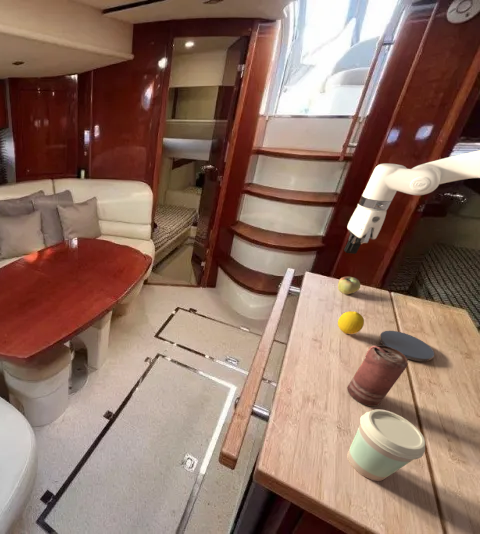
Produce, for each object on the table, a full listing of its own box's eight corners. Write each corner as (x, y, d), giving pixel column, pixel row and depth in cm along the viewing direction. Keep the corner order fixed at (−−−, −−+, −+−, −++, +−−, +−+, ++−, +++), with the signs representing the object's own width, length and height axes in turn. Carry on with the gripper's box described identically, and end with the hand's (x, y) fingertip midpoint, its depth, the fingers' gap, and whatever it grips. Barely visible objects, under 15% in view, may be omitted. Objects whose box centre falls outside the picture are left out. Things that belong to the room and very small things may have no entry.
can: (348, 380, 77) (374, 339, 70) (381, 397, 72) (412, 354, 65) (341, 394, 73) (367, 352, 66) (375, 412, 69) (407, 369, 62)
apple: (359, 291, 110) (366, 277, 107) (352, 299, 106) (359, 285, 103) (339, 284, 114) (345, 270, 111) (331, 292, 110) (338, 278, 107)
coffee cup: (394, 462, 60) (428, 425, 54) (394, 500, 54) (432, 464, 48) (340, 434, 65) (366, 398, 59) (335, 466, 59) (362, 430, 53)
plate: (415, 337, 89) (417, 334, 88) (442, 366, 80) (445, 362, 79) (370, 331, 92) (372, 327, 91) (391, 358, 82) (394, 354, 82)
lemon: (332, 324, 95) (343, 304, 91) (355, 330, 92) (367, 309, 88) (334, 335, 91) (345, 314, 87) (358, 342, 88) (370, 320, 84)
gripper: (401, 211, 93) (373, 263, 102) (375, 197, 106) (352, 244, 115) (372, 209, 95) (347, 260, 104) (350, 195, 107) (329, 242, 117)
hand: (349, 252), depth 110 cm, fingers closed
